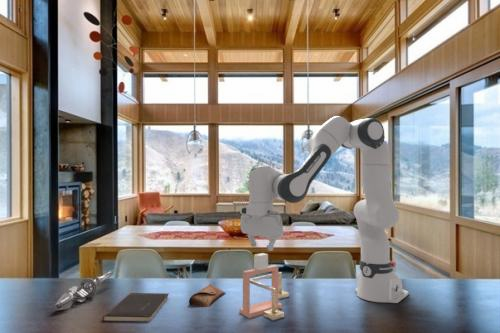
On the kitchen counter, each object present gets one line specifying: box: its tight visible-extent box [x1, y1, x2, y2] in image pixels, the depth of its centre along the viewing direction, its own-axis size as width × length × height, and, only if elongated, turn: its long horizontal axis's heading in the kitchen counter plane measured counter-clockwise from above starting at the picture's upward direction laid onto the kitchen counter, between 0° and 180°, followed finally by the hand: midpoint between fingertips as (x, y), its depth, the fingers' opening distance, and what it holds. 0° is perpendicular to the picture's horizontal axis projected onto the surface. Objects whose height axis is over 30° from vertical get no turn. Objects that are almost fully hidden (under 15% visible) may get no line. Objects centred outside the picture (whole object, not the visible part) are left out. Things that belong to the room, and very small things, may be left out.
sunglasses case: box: [188, 283, 226, 308], centre depth 138 cm, size 18×7×7 cm
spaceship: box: [53, 269, 115, 311], centre depth 139 cm, size 8×35×8 cm
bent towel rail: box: [250, 271, 290, 321], centre depth 131 cm, size 21×19×10 cm
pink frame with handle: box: [238, 252, 283, 319], centre depth 126 cm, size 6×15×20 cm, turn 128°
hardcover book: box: [102, 292, 170, 322], centre depth 128 cm, size 16×23×2 cm
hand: (261, 248), depth 127 cm, fingers open, 8 cm apart
